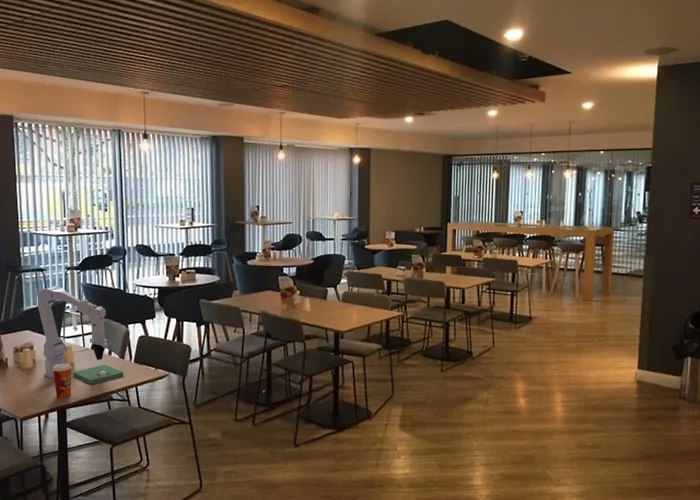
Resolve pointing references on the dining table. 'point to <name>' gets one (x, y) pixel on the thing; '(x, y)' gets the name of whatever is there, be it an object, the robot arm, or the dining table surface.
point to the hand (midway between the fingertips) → (99, 359)
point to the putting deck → (97, 374)
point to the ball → (102, 373)
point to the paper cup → (62, 380)
